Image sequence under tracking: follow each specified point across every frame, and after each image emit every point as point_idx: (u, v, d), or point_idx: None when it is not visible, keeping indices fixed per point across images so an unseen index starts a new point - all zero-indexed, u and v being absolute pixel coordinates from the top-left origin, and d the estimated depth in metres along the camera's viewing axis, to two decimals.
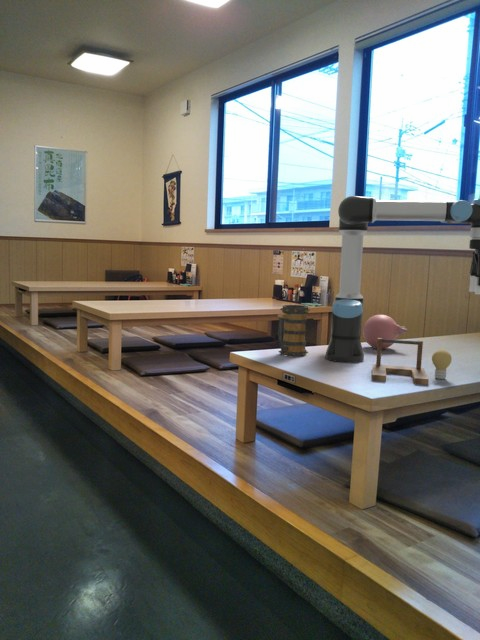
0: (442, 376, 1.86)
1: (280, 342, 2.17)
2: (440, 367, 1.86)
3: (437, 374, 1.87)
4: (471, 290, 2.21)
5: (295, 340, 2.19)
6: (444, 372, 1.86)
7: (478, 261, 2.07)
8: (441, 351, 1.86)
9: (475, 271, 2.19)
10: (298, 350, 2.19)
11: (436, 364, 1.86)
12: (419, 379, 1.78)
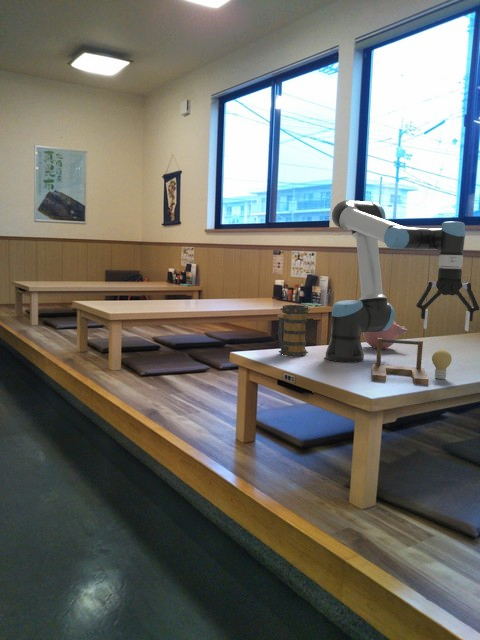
0: (442, 376, 1.86)
1: (280, 342, 2.17)
2: (440, 367, 1.86)
3: (437, 374, 1.87)
4: (465, 328, 1.86)
5: (295, 340, 2.19)
6: (444, 372, 1.86)
7: None
8: (441, 351, 1.86)
9: None
10: (298, 350, 2.19)
11: (436, 364, 1.86)
12: (419, 379, 1.78)
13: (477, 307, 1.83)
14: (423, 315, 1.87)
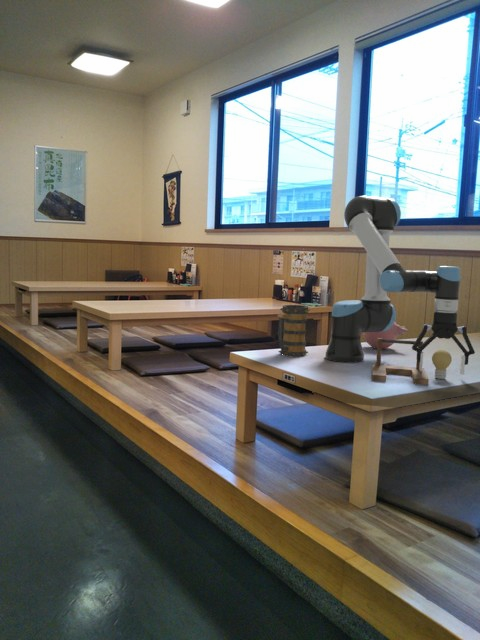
0: (442, 376, 1.86)
1: (280, 342, 2.17)
2: (440, 367, 1.86)
3: (437, 374, 1.87)
4: (460, 371, 1.87)
5: (295, 340, 2.19)
6: (444, 372, 1.86)
7: None
8: (441, 351, 1.86)
9: (461, 349, 1.85)
10: (298, 350, 2.19)
11: (436, 364, 1.86)
12: (419, 379, 1.78)
13: (472, 351, 1.83)
14: (418, 358, 1.88)
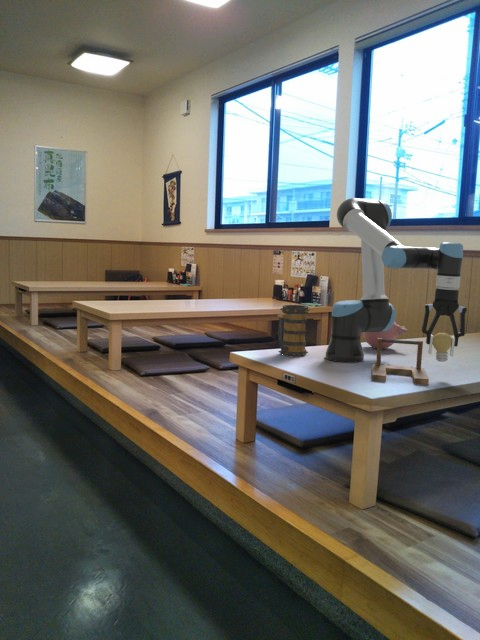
0: (443, 359, 1.86)
1: (280, 342, 2.17)
2: (441, 350, 1.85)
3: (438, 357, 1.86)
4: (450, 353, 1.87)
5: (295, 340, 2.19)
6: (445, 354, 1.86)
7: None
8: (441, 334, 1.85)
9: (453, 330, 1.85)
10: (298, 350, 2.19)
11: (437, 347, 1.86)
12: (419, 379, 1.78)
13: (463, 333, 1.84)
14: (428, 340, 1.87)
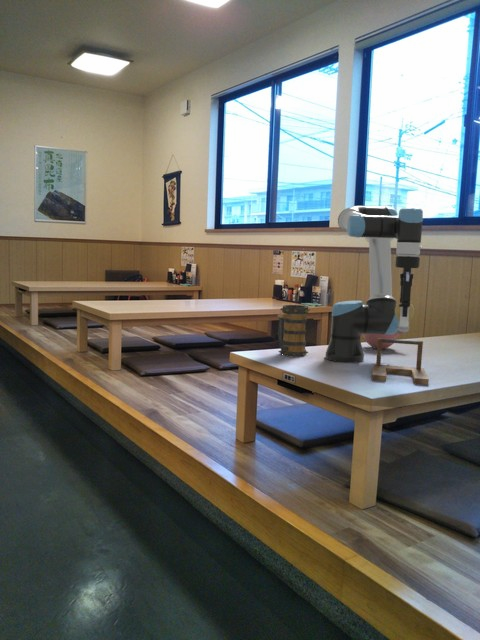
0: None
1: (280, 342, 2.17)
2: (410, 319, 1.80)
3: (408, 327, 1.80)
4: None
5: (295, 340, 2.19)
6: None
7: (403, 286, 1.74)
8: None
9: None
10: (298, 350, 2.19)
11: (410, 317, 1.79)
12: (419, 379, 1.78)
13: None
14: (407, 313, 1.76)
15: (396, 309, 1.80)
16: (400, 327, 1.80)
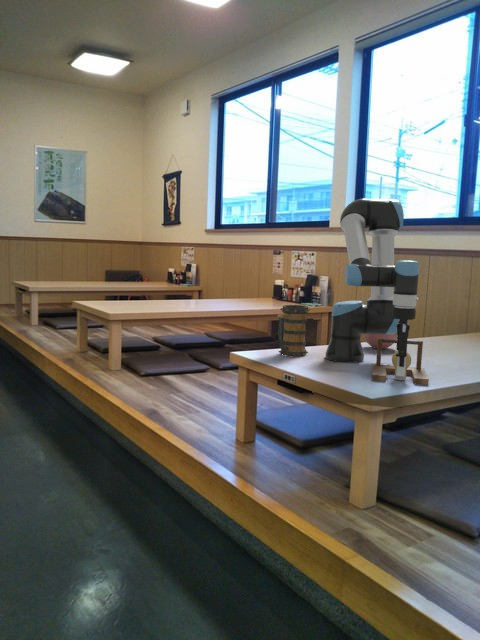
0: None
1: (280, 342, 2.17)
2: None
3: (404, 376, 1.82)
4: None
5: (295, 340, 2.19)
6: None
7: (399, 337, 1.76)
8: None
9: None
10: (298, 350, 2.19)
11: (407, 366, 1.81)
12: (419, 379, 1.78)
13: None
14: (403, 363, 1.77)
15: (393, 357, 1.82)
16: None
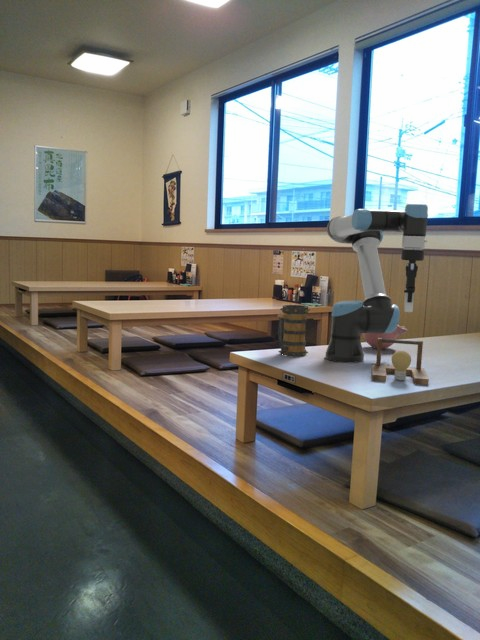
0: None
1: (280, 342, 2.17)
2: None
3: (404, 376, 1.82)
4: None
5: (295, 340, 2.19)
6: None
7: (407, 274, 1.83)
8: (405, 352, 1.82)
9: None
10: (298, 350, 2.19)
11: (407, 366, 1.81)
12: (419, 379, 1.78)
13: None
14: (411, 298, 1.83)
15: (393, 357, 1.82)
16: (397, 375, 1.83)
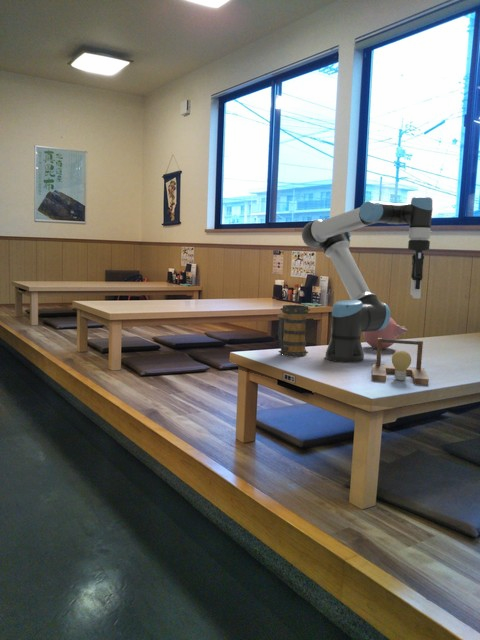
0: None
1: (280, 342, 2.17)
2: None
3: (404, 376, 1.82)
4: (412, 293, 2.09)
5: (295, 340, 2.19)
6: None
7: (415, 263, 1.95)
8: (405, 352, 1.82)
9: None
10: (298, 350, 2.19)
11: (407, 366, 1.81)
12: (419, 379, 1.78)
13: None
14: (419, 285, 1.95)
15: (393, 357, 1.82)
16: (397, 375, 1.83)
